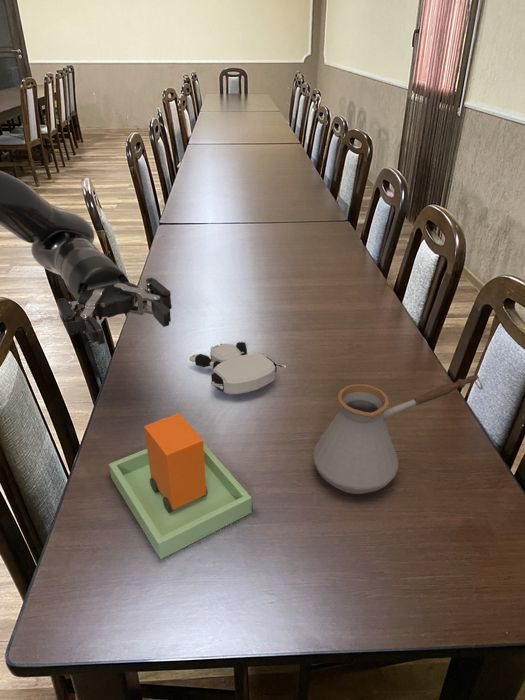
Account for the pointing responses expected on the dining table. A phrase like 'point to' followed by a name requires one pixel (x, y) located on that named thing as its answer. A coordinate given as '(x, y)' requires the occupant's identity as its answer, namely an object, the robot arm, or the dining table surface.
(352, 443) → the coffee pot
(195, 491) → the toy van
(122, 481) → the green square tray
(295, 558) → the dining table surface
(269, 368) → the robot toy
